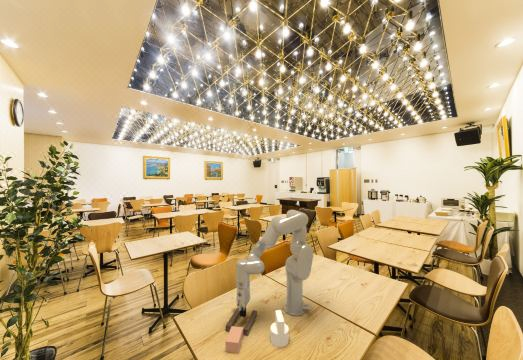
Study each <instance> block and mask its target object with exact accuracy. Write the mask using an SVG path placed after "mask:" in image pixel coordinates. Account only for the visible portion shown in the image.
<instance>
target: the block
mask: <svg viewBox="0 0 523 360" xmlns="http://www.w3.org/2000/svg"><path fill="white" fill-rule="evenodd" d="M243 328H244V327H243V326H235V325H234V326H232V327H231V329H230V332H228V334H227V337H226V338H225V352H226V353H233V354H239V352H240V349H241V346H242V342H243V340H244V335H243Z"/></svg>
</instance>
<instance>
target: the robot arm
mask: <svg viewBox="0 0 523 360" xmlns="http://www.w3.org/2000/svg"><path fill="white" fill-rule="evenodd" d="M308 223H309V217H308V215H307V214H306V213H305V212H303V211H299V210H296V209H289V210H288V211H287V212H286V215H285V218H284V217H281V216H274V217H272V218H271V220H270V222H269V224H268V225H267V228H266V230H264V233H263V235H262V237H261V238H260V239H259V240H258V241H256V243H254V245H253V247H252V248H251V250H250V251H249V253H248V255H247V258H241V259H238V260H237V261H236V263H235V287H236V308H237V307H239V311H240V316H239V317H240V318H241V317H243V318H246V316H247V306H248V304H249V302H250V300H251V280H250V277H251V275H259V274H262V273H263V272H264V271H265V269H266V268H265V267H266V266H265V263H264V262H263V261H262V260H261V257H262V254H263V253H264V252H265V251H266V250H268V249H271V248H273V247H275V246H276V244H277V242H278V240H279V238H280V236H281V235H282V236H284V235H289V234H292V235H291V240H290V245H289V246H290V247H289V249H290V252H291V253H292V254H293V255H290V256H289V257H287V258H286V260H285V263H284V264H285V265H284V267H285V272H286V275H285V276H286V303H285V304H284V305H283V310H284V312H285V313H286V314H288V315H290V316H294V317H295V316H296V317H299V316H302V315H304V314H305V313H306V311H311V306H309V304H307V303H304V300H303V291H304V290H303V285H304V284H303V281H306V280H307V279H309V277H310V274H311V271H312V268H313V267H312V266H313V260H314V250H313V247H312V246H311V245H310V244H309V243H307V236H308V234H307V233H308V231H307V225H308Z"/></svg>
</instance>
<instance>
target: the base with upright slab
mask: <svg viewBox="0 0 523 360" xmlns="http://www.w3.org/2000/svg"><path fill="white" fill-rule="evenodd" d="M274 314H275V315H274V319H275V320H274V321H273V323H272V324H271V325H270V331H269V332H270V333H269V335H270V337H269V338H270V343H271V344H272V345H273V346H274V347H276V348H284V347H286V346H287V345H288V344H289V342H290V339H289V338H290V335H289V334H290V332H289V331H290V329H289V325H287V323H285V318H284V316H283V313H282V310H281V309H276V310H275V312H274Z"/></svg>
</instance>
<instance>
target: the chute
mask: <svg viewBox="0 0 523 360" xmlns="http://www.w3.org/2000/svg"><path fill="white" fill-rule="evenodd" d="M240 317H241V316H240V311H239V306H238V307H237V306H236V309H235V310H234V312H233V314H232V315H231V317H230V318H229V320H228V321H227V322H226V324H225V332H228V333H229V332H230V329H231V327H232V326H234V327H235V324H236V323H237V321H238V320H239V318H240ZM257 317H258V310H255V309H253V310H251V313H250V315H249V316H248V319H247V320H246V323H245V325H244V327H243V336H246V337H248V336H249V334H250V333H251V330H252V328H253V325H255V322H256V319H257Z"/></svg>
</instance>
